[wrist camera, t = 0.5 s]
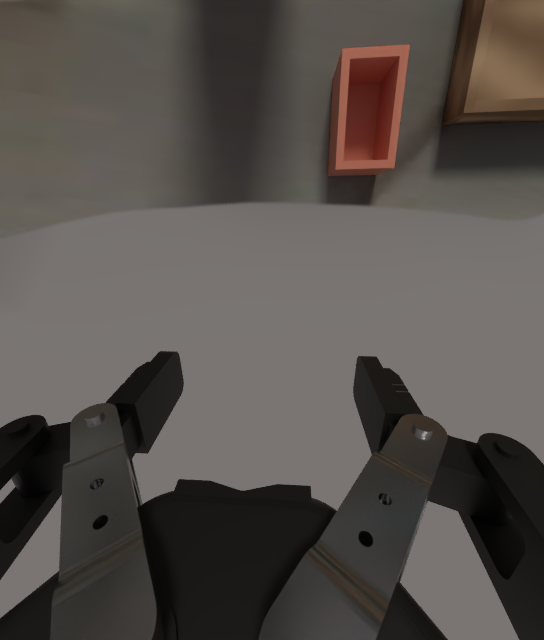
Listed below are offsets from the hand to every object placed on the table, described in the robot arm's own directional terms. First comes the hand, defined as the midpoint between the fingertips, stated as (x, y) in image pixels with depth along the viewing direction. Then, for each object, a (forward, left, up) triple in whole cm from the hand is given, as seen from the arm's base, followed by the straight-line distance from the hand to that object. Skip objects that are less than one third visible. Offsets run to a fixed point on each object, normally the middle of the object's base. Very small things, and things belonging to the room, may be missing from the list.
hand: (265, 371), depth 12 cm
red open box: (-15, +8, -26) cm, 31 cm away
